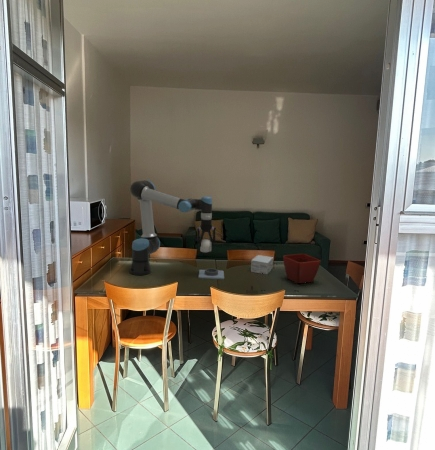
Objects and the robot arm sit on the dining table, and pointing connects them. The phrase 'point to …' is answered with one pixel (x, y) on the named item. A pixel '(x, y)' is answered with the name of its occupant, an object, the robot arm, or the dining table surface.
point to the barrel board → (211, 274)
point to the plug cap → (205, 245)
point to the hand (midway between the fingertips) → (205, 250)
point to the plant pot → (301, 267)
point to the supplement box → (262, 264)
